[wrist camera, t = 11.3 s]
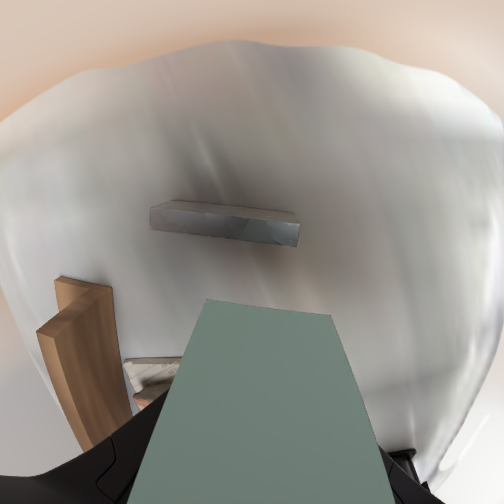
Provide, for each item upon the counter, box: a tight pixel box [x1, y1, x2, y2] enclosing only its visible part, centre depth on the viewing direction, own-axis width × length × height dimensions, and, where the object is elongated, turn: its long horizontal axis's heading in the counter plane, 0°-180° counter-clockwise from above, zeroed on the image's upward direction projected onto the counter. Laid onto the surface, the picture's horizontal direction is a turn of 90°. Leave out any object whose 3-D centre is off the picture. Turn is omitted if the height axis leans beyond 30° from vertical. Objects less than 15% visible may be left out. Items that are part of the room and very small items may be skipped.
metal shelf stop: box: [150, 200, 300, 247], centre depth 17 cm, size 8×1×4 cm, turn 84°
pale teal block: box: [127, 299, 395, 504], centre depth 6 cm, size 4×5×7 cm
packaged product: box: [122, 358, 182, 411], centre depth 23 cm, size 18×5×10 cm
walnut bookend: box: [36, 276, 132, 452], centre depth 20 cm, size 6×20×8 cm, turn 174°
